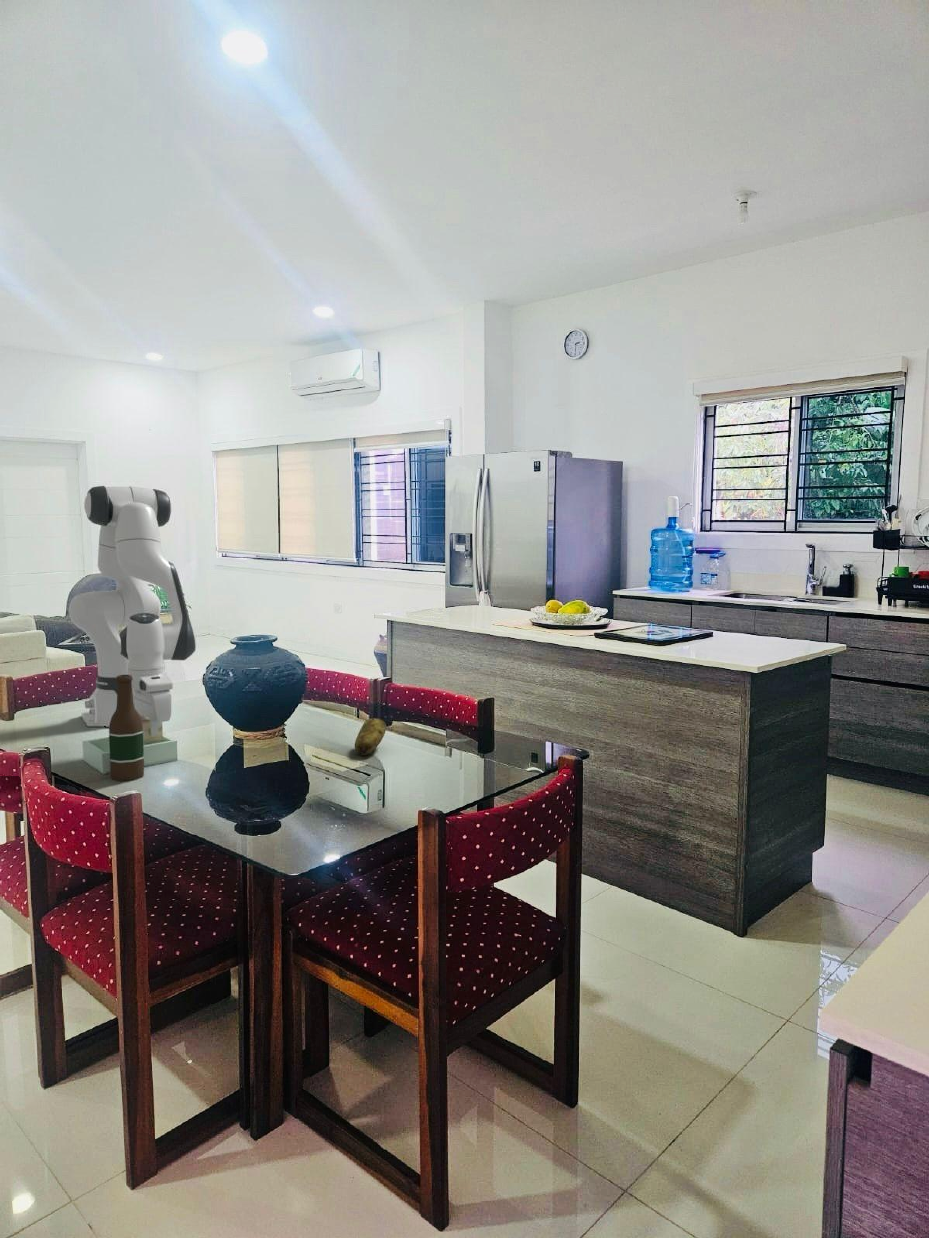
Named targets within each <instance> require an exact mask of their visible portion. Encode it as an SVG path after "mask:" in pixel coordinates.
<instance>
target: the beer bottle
mask: <svg viewBox="0 0 929 1238" xmlns="http://www.w3.org/2000/svg"><path fill="white" fill-rule="evenodd" d="M132 680H133V678H132V675H119V676H117V679H116V681H117V707H116V711H115V712H114V714H113V715H112V718H111V721H110V725H109V727H108V737H109V747H110V772H111V773H110V779H111V780H112V781H115V782H127V781H128V782H129V781H130V780H131V781H136V780H138V778H139V779H141V778H143V777H144V775H145V774H144V773H145V767H144V747H143V725H142V719H141V717H140V714H139V713H138V712H137V711H136V709H135V707H134V702H133V692H132V682H131V681H132Z"/></svg>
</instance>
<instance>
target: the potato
mask: <svg viewBox="0 0 929 1238" xmlns="http://www.w3.org/2000/svg"><path fill="white" fill-rule="evenodd" d="M386 730H387V725H386V722H385V721H384V720H382V719H381V718H377V717H376V718H375V717H373V718H368V719H367V720H365V721H364V723H363V724H362V726H361V728H360V729H359V731H358V734H357V737H356V738H355V741H354V750H355V752H356V753H357V754H359V755H361V756H363V755H364V756H367V755H370V754H372V753H373V752H374V750H375V749H376V748H377V747H378V746H379V745H380V744H381V742H382V741H383V738H384V736H385V734H386Z"/></svg>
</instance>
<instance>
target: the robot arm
mask: <svg viewBox="0 0 929 1238" xmlns="http://www.w3.org/2000/svg"><path fill="white" fill-rule="evenodd" d="M170 499H171V498H170V496H169V495H168V494H167V493H166V492H165V491H163V490H160V489H156V488H153V489H150V488H143V487H137V486H105V485H99V486H93V487H90V489H89V490H88V491H87V494H86V496H85V498H84V512H85V514H86V517H87V519H88V520H89V521H90V522H91V523H92V524H94V525H99V526H100V529H99V536H98V537H99V538H98V550H97V551H98V554H97V555H98V556H97V568H98V570H99V572H100V573H101V575H103V576H104V577H106V578H108V579H110V580H113V581H115V584H116V585H115V586H116V587H115V589H113V590H95V591H93V590H91V591H87V592H83V593H80V594H77V595H75V596H74V597H73V598H72V599H71V601H70V602H69V606H68V614H69V615H68V616H69V619H70V620H71V623H72V624H73V625H75V627H76V628H78V629H79V630H81V631H82V632H84V633H85V634H86V635H87V636H88V637H89V639H90V640H91V642H92V643H93V646H94V649H95V653H96V654H95V655H96V663H97V676H96V679H95V687H96V688H95V690H94V691H93V692H92V694H91V695H90V696H89V699H88V700H85V701H84V707H85V709H89V710H88V711H87V710H86V711H84V712H82V713H81V718H82V720H83V722H84V724H85V723H86V724H85V725H87V727H104V726H106V727H108V728H109V725H110V721H111V718H112V715H113V714H114V712H115V711H116V707H117V681H116V679H117V676H119V675H132V678H133V680H132V681H131V682H132V692H133V702H134V707H135V709H136V711H137V712H138V713H139V714H140V717H141V719H142V718H148V719H150V723H151V725H150V729H149V735H151V736H157V735H158V728H159V725H160V722H162V723H164V722H169V721H170V719H171V716H172V693H171V690H172V689H174V687H173V686H174V685H173V681H172V679H171V678H170V677H169V676H168V674H167V671H166V664H165V661H167V660H170V661H186V660H187V659H188V658H190V657H191V656H193V654H194V653H195V652H196V648H197V636H196V633H195V631H194V628H193V627H192V623H191V618H190V615H189V613H188V608H187V603H186V600H185V596H184V592H183V588H182V584H181V581H180V580H181V579H180V577H179V574H178V571H177V568H176V566H175V564H174V563H172V562H170V561H168V560H167V559H166V557H165V555H164V553H163V550H162V547H161V536H160V535H161V534H160V529H159V528H160V527H164V526H165V525H166V524H168V523H169V521H170V519H171V516H172V508H173V507H172V502H171V500H170ZM145 582H147V583H150V584H152V585H155V586H156V587H158V588H160V589H162V590H163V591H164V594H165V595H166V598H167V602H168V606H169V610H170V614H171V618H172V621H170V622H162V620H161V617H160V614H161V610H162V603H161V600H160V598H159V596H158V595H157V594H156V593H155V591H153V590H151V589H150V588H149V587H148V585H146V583H145ZM119 628H123V629H122V630H121V632H119ZM164 660H165V661H164Z"/></svg>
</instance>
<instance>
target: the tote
mask: <svg viewBox="0 0 929 1238" xmlns="http://www.w3.org/2000/svg"><path fill="white" fill-rule="evenodd" d="M143 747H144V768H145V767H150V766H155V765H159V764H166V763H171V762H177V761H178V740H176V739H174V738H172V737H171V736H168V735H166V734H164V733H163V740H158V741H152V742H147V743H143ZM82 759H83V760H84V761H85V762H86V763H85V762H84V761H83V760H82V761H83V762H84V763H85V764H87V763H88V764H89V765H88V764H87V765H88V766H90V767H91V768H92V769H94V770H96V771H97V770H98V771H99V772H98V771H97V772H98V773H100V774H101V773H102V774H101V775H107V773H108V774H111V772H110V747H109V736H108V737H107V736H106V737H102V738H94V739H88V740H83V741H82Z"/></svg>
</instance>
